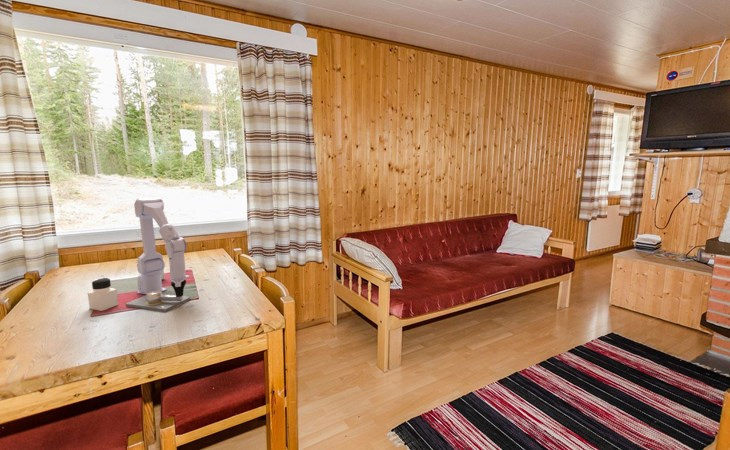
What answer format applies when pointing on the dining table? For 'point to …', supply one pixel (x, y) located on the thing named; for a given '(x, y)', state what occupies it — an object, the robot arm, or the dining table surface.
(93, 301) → the medicine bottle
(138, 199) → the robot arm
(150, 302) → the tan piece
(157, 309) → the board
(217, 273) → the dining table surface
